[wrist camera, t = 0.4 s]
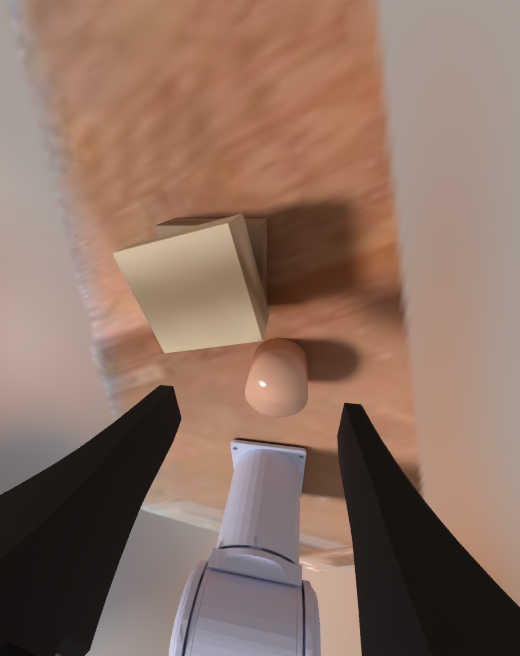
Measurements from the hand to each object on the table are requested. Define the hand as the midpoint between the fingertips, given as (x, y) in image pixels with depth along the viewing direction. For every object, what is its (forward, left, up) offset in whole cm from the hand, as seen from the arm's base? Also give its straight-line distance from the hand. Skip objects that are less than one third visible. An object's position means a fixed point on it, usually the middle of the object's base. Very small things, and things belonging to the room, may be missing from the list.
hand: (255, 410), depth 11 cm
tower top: (+3, +4, -7) cm, 8 cm away
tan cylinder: (-5, 0, -10) cm, 11 cm away
